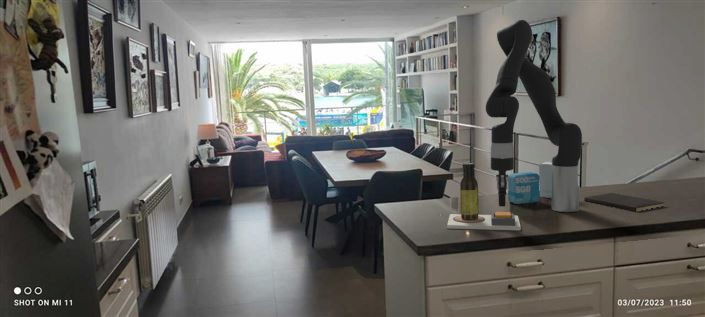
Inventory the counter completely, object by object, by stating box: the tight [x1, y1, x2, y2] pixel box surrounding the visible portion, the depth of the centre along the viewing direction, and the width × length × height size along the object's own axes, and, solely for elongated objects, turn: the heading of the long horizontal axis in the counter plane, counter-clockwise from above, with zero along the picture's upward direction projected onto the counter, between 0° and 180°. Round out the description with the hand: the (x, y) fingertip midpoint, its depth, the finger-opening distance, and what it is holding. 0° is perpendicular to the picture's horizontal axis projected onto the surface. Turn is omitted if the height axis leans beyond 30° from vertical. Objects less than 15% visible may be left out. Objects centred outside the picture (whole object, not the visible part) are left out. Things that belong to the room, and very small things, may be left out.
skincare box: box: [538, 161, 552, 199], centre depth 220 cm, size 8×6×15 cm
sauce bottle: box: [459, 162, 480, 220], centre depth 182 cm, size 6×6×20 cm
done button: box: [494, 211, 512, 218], centre depth 176 cm, size 5×5×2 cm
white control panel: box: [446, 212, 522, 231], centre depth 181 cm, size 24×16×4 cm, turn 76°
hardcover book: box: [583, 192, 665, 213], centre depth 203 cm, size 16×23×2 cm
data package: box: [507, 171, 540, 205], centre depth 212 cm, size 12×4×12 cm, turn 106°
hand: (502, 206), depth 176 cm, fingers closed
